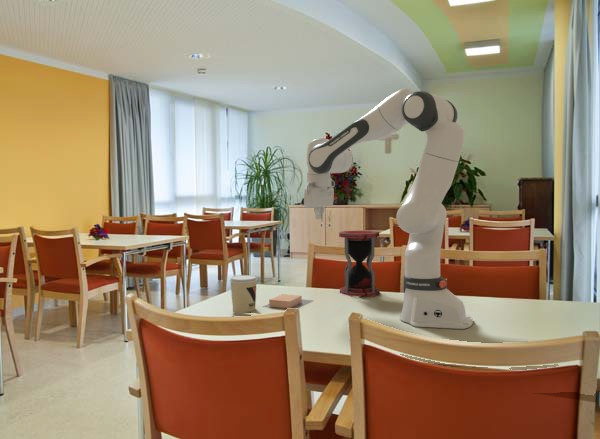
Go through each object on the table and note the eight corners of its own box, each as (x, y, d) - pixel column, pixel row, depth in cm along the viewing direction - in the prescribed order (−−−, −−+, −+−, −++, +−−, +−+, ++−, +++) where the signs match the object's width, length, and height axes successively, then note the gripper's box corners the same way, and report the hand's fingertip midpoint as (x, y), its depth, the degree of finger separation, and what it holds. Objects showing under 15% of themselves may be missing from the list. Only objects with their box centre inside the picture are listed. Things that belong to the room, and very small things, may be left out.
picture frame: (301, 295, 187) (289, 301, 178) (301, 302, 188) (289, 309, 179) (282, 294, 191) (269, 299, 182) (282, 301, 191) (269, 306, 182)
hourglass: (361, 299, 195) (360, 234, 193) (331, 293, 207) (330, 232, 205) (387, 293, 206) (387, 231, 204) (357, 287, 218) (357, 229, 216)
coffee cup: (253, 314, 174) (252, 280, 174) (227, 313, 176) (226, 279, 176) (260, 308, 184) (259, 275, 183) (235, 307, 186) (235, 274, 185)
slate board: (313, 302, 191) (313, 300, 191) (294, 312, 177) (294, 310, 177) (283, 299, 197) (283, 297, 197) (262, 308, 183) (262, 306, 182)
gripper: (315, 182, 182) (315, 220, 183) (336, 182, 200) (336, 217, 201) (299, 182, 185) (299, 220, 186) (321, 182, 203) (322, 217, 204)
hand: (319, 219), depth 194 cm, fingers closed
